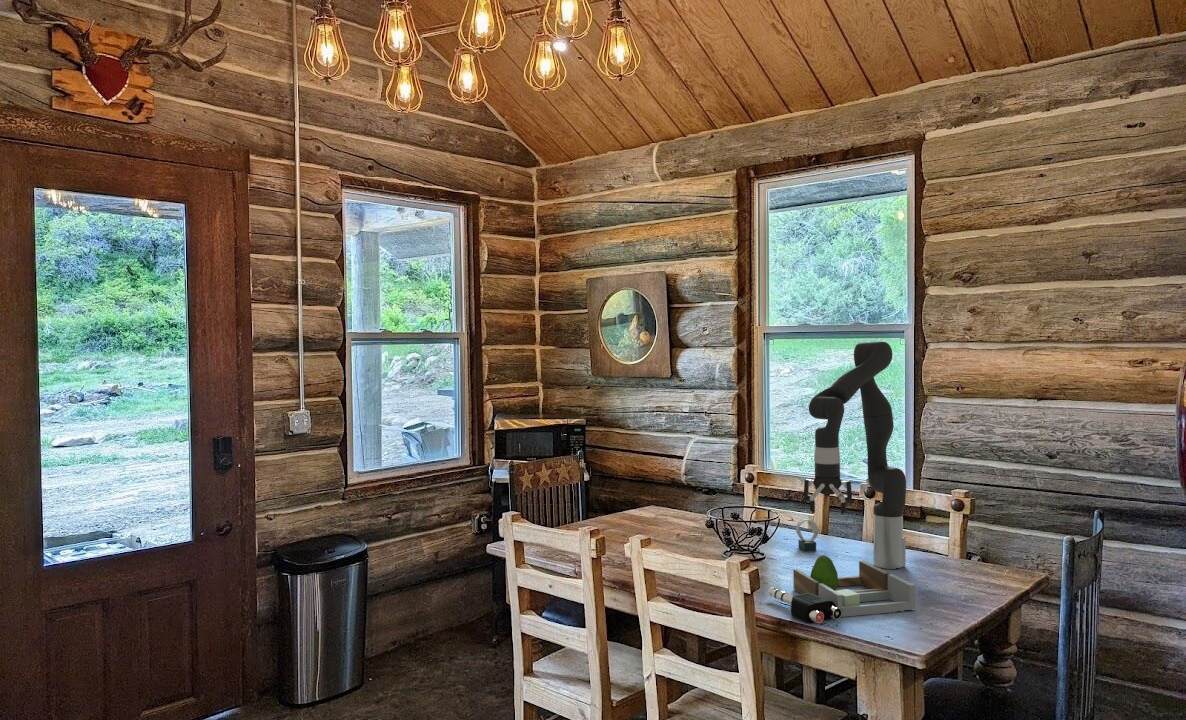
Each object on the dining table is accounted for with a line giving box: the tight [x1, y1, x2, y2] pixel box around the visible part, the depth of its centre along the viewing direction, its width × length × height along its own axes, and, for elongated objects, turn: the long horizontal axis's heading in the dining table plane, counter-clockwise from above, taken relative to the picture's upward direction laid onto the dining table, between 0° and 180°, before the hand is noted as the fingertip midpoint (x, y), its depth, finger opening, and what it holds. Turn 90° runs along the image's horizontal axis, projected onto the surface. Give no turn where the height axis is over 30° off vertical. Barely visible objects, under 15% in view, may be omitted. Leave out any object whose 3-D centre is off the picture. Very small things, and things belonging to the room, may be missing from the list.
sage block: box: [835, 588, 861, 607], centre depth 228 cm, size 5×5×5 cm
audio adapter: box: [767, 587, 842, 625], centre depth 227 cm, size 11×5×25 cm
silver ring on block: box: [795, 518, 820, 553], centre depth 293 cm, size 6×8×11 cm
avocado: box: [809, 554, 839, 591], centre depth 241 cm, size 8×8×12 cm
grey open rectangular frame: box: [818, 573, 916, 618], centre depth 229 cm, size 24×11×7 cm, turn 102°
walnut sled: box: [792, 560, 891, 596], centre depth 242 cm, size 24×14×7 cm, turn 102°
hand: (827, 513), depth 251 cm, fingers open, 8 cm apart
